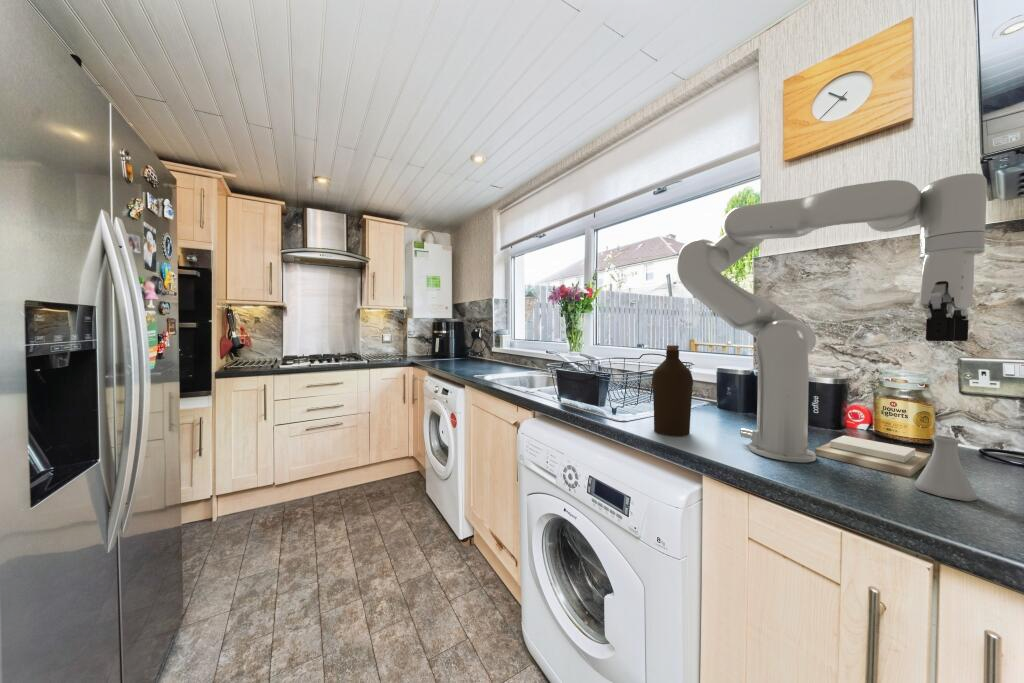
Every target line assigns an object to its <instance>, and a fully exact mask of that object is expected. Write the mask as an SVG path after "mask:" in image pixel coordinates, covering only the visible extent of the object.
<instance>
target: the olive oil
mask: <svg viewBox="0 0 1024 683" xmlns="http://www.w3.org/2000/svg"><path fill="white" fill-rule="evenodd" d="M679 347H680V346H679V345H673V344H671V345H666V351H665V356H666V358H665V359H664V360H663V361H662V362H661V363H660V364H659V365H658V366H657V367H656V368H655V369H654V372H653V374H652V378H651V379H652V396H653V397H652V399H653V400H652V401H653V429H654V431H655V432H656V433H657V434H660V435H666V436H672V437H684V436H685V437H686V436H688V435H690V431H691V430H690V429H691V416H692V414H691V413H692V399H693V386H694V378H693V375H692V372H691V370H690V369H689V368H688V367H687V365H686V364H684V363H683V362H682V361H681V360H680V349H679Z"/></svg>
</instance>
